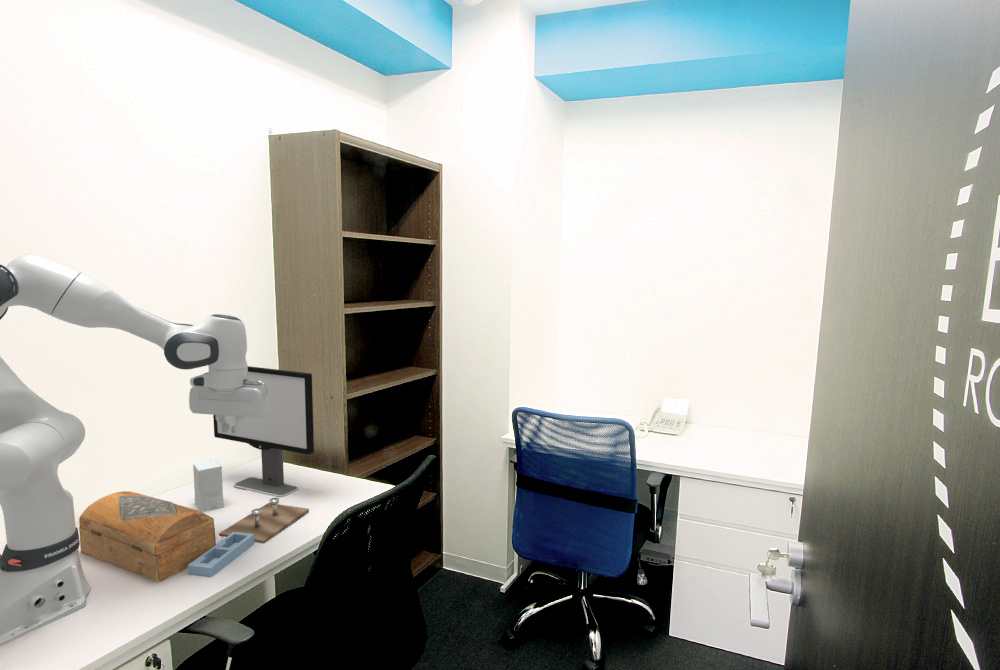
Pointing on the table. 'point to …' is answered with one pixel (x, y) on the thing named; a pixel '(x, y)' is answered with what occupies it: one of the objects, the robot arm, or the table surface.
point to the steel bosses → (259, 511)
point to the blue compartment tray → (221, 554)
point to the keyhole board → (267, 522)
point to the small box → (208, 485)
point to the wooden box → (145, 534)
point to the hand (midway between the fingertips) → (230, 431)
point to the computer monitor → (276, 427)
